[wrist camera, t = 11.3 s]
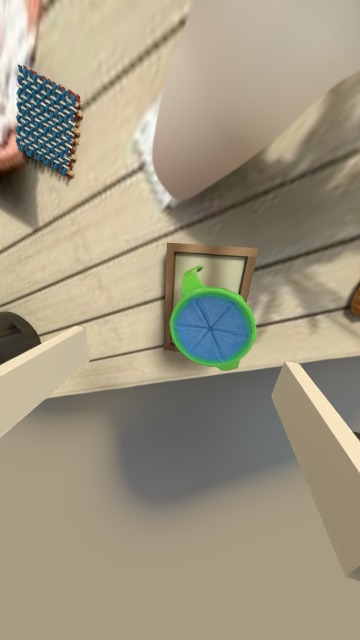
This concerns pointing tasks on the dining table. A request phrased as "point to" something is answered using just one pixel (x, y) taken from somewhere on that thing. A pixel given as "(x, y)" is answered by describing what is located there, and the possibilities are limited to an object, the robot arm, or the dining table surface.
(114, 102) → the dining table surface
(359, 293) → the pastry
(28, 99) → the woven mat
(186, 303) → the snack cup
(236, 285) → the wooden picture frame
